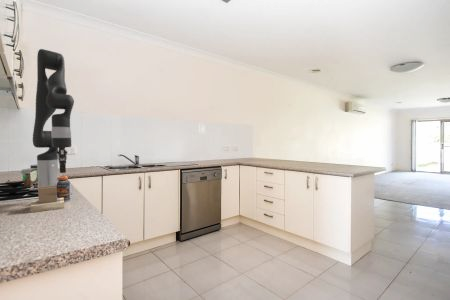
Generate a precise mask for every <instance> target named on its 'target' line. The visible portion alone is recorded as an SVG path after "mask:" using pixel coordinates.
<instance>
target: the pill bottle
mask: <svg viewBox="0 0 450 300" xmlns="http://www.w3.org/2000/svg"><path fill="white" fill-rule="evenodd" d="M68 179H69V177H68V176H67V175H60V176H59V175H58V177H57V180H58V181H57V182H55V185H57V198H62V197H64V202H69V201H70V200H71V199H72V198H71V181H70V180H68Z"/></svg>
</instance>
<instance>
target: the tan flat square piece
mask: <svg viewBox="0 0 450 300" xmlns="http://www.w3.org/2000/svg"><path fill="white" fill-rule="evenodd" d="M29 206H30V207H29V208H30V209H29V212H30V213H38V212H43V211H52V210H60V209H61V210H62V209H64V208H65V201H64V197H62V198H57V202H50V203H42V204H39V199H38V200H37V199H36V200H32V201H31V204H30V205H29Z"/></svg>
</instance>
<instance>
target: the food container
mask: <svg viewBox="0 0 450 300" xmlns="http://www.w3.org/2000/svg"><path fill="white" fill-rule="evenodd" d="M20 173H21V174H22V180H23V182H22V183H23V186H24V187H33V186H34V185H33V184H35V185H37V184H38V181H37V168H31V167H29V168H23V169H21V171H20ZM36 183H37V184H36Z"/></svg>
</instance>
